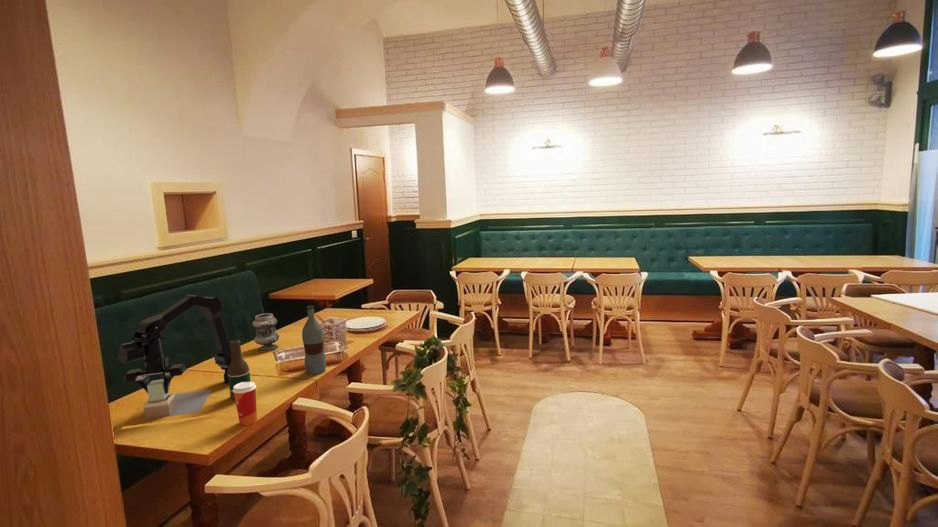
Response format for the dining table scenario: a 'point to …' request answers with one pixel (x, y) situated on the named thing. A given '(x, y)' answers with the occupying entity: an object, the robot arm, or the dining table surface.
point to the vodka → (313, 344)
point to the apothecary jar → (265, 332)
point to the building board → (176, 404)
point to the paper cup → (246, 402)
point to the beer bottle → (237, 367)
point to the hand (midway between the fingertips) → (158, 394)
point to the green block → (156, 390)
